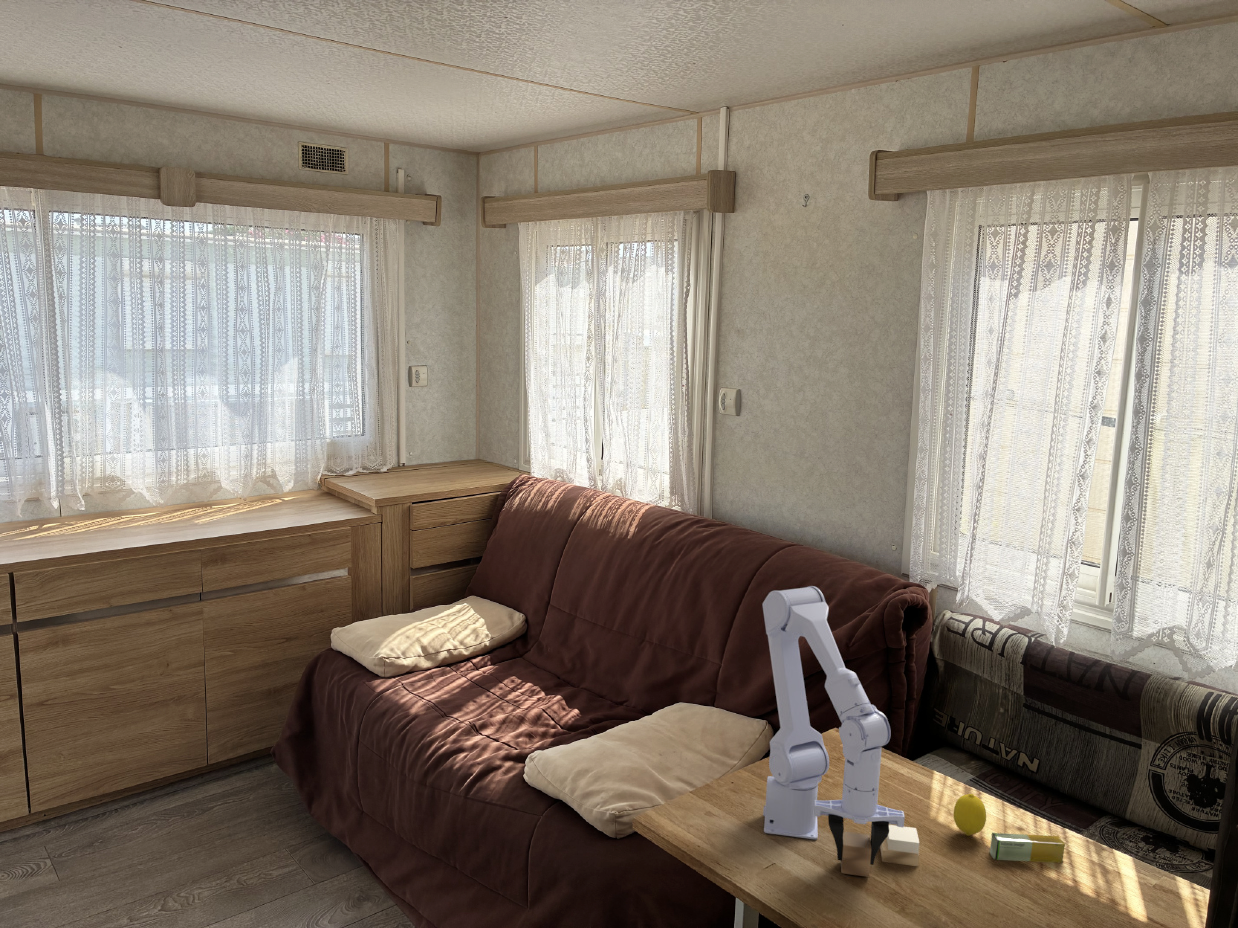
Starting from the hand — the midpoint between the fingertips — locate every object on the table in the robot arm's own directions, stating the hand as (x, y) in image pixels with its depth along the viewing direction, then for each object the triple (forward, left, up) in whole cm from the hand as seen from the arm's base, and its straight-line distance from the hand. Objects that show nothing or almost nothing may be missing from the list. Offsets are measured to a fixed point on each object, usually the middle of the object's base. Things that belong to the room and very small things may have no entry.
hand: (855, 859), depth 156 cm
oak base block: (+8, +7, -2) cm, 11 cm away
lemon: (+21, +17, -2) cm, 27 cm away
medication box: (+30, +12, -2) cm, 32 cm away
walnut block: (0, 0, -2) cm, 2 cm away
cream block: (+8, +7, 0) cm, 11 cm away
